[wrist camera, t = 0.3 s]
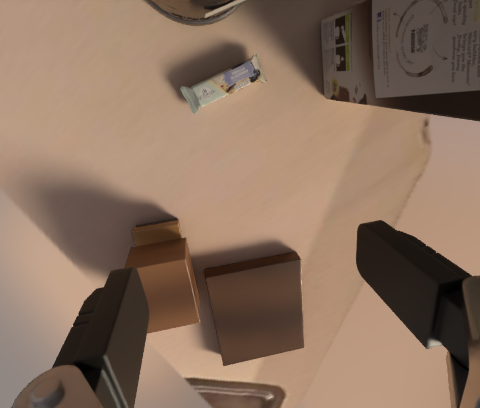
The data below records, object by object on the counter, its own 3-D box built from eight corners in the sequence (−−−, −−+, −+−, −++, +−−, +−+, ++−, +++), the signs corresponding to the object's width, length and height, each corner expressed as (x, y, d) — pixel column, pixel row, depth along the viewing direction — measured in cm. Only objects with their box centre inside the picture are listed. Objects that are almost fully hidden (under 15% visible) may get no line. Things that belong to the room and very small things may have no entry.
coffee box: (323, 102, 26) (499, 131, 11) (318, 18, 23) (539, -87, 9) (418, 82, 27) (701, 84, 12) (424, -2, 24) (796, -130, 9)
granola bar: (192, 114, 24) (192, 116, 24) (179, 87, 24) (179, 87, 23) (265, 81, 24) (268, 81, 23) (256, 52, 23) (258, 51, 22)
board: (204, 269, 31) (205, 277, 29) (296, 251, 32) (301, 259, 30) (222, 355, 36) (223, 366, 35) (300, 338, 37) (304, 347, 36)
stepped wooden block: (129, 224, 27) (117, 254, 23) (183, 215, 28) (181, 243, 23) (154, 306, 31) (148, 346, 27) (200, 297, 32) (202, 334, 27)
